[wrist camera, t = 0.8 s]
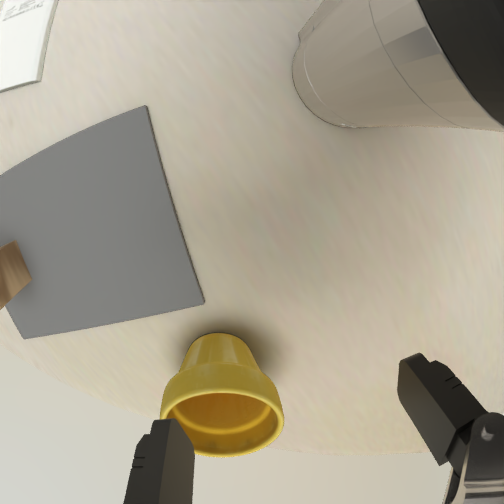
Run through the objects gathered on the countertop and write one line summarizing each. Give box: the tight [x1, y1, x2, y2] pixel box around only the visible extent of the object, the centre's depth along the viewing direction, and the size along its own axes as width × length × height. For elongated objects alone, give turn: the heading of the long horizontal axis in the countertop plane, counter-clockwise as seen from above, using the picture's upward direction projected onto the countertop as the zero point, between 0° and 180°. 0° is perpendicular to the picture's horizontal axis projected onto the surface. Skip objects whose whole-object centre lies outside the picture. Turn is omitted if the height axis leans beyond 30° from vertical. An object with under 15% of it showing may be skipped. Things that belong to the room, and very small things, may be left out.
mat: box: [0, 105, 205, 339], centre depth 24 cm, size 18×24×1 cm
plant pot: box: [160, 333, 284, 457], centre depth 26 cm, size 10×10×10 cm
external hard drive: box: [0, 0, 58, 93], centre depth 16 cm, size 2×8×12 cm
